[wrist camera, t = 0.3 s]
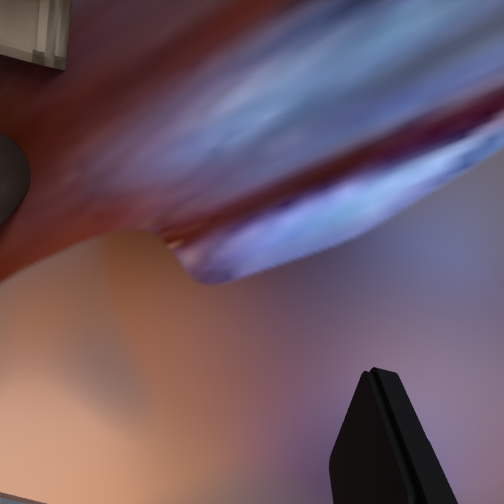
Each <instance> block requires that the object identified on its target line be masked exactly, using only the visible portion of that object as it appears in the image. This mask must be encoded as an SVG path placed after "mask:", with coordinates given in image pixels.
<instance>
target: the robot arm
mask: <svg viewBox="0 0 504 504" xmlns="http://www.w3.org/2000/svg"><path fill="white" fill-rule="evenodd" d="M329 474H330V481H331V488H332V495H333V503H334V504H458V503H457V501H456V498H455V496H454V494H453V492H452V489H451V487H450V485H449V483H448V481H447V479H446V477H445V474H444V472H443V470H442V468H441V465H440V463H439V461H438V459H437V457H436V455H435V452H434V450H433V448H432V446H431V444H430V442H429V440H428V439H427V437H426V435H425V432H424V430H423V428H422V426H421V424H420V421H419V419H418V417H417V415H416V413H415V411H414V408H413V406H412V404H411V402H410V400H409V397H408V395H407V393H406V391H405V389H404V386H403V384H402V382H401V380H400V378H399V376H398V375H397V373H395V372H391V371H387V370H383V369H379V368H375V367H373V368H372V369H371V370H370V372H367V371H364V372H363V373H362V375H361V377H360V380H359V382H358V385H357V388H356V390H355V393H354V396H353V398H352V401H351V403H350V406H349V408H348V411H347V414H346V416H345V419H344V422H343V424H342V427H341V429H340V432H339V435H338V437H337V440H336V442H335V445H334V447H333V450H332V453H331V456H330V461H329ZM0 504H46V503H42V502H38V501H34V500H29V499H26V498H22V497H17V496H13V495H9V494H5V493H1V492H0Z"/></svg>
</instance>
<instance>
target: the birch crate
mask: <svg viewBox="0 0 504 504" xmlns="http://www.w3.org/2000/svg"><path fill="white" fill-rule="evenodd" d="M71 8H72V0H0V54H1V55H5V56H9V57H13V58H16V59H20V60H24V61H28V62H31V63H35V64H39V65H43V66H47V67H51V68H56V69H61V70H65V67H66V57H67V47H68V37H69V27H70V18H71Z"/></svg>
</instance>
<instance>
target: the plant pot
mask: <svg viewBox="0 0 504 504" xmlns="http://www.w3.org/2000/svg"><path fill="white" fill-rule="evenodd" d="M29 185H30V169H29V165H28V162H27V159H26V157H25V155H24V154H23V152H22V151H21V149H20V148H19V147H18V146H17V144H16V143H15V142H14V141H12V140H11V139H10V138H8V137H7V136H5V135H3V134H2V133H0V226H1V225H2V224H3V223H4V222H5V221H6V220H7V218H8V217H9V216H10V215H11V214H12V213H13V211H14V210H15V209H16V208H17V206H18V205H19V204H20V202H21V201H22V199H23V198H24V196H25V195H26V193H27V191H28V188H29Z"/></svg>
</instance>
